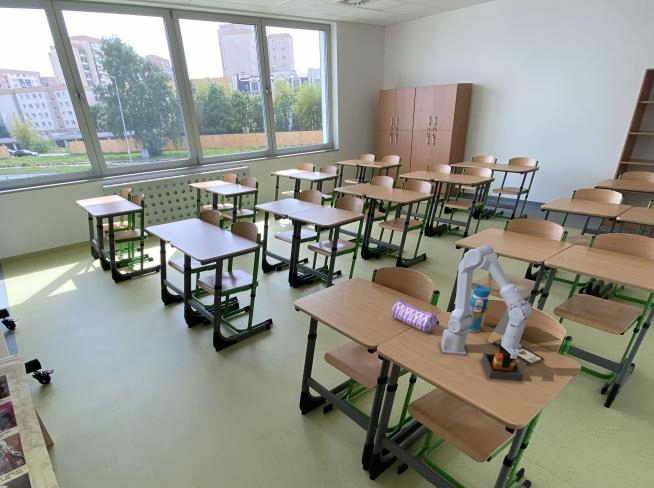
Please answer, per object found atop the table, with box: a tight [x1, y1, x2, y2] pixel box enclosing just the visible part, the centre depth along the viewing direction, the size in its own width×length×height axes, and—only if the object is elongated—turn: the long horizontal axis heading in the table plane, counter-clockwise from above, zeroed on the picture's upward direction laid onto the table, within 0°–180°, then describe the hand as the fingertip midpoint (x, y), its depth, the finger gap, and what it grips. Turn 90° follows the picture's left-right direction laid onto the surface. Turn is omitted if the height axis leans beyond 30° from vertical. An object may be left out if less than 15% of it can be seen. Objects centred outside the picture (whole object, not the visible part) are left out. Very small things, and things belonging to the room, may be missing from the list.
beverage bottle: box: [468, 285, 491, 333], centre depth 179 cm, size 8×8×20 cm
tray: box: [481, 352, 524, 382], centre depth 154 cm, size 12×14×4 cm
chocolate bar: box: [492, 342, 544, 365], centre depth 167 cm, size 9×1×18 cm
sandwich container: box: [486, 305, 511, 345], centre depth 172 cm, size 9×15×15 cm, turn 131°
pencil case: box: [391, 297, 440, 334], centre depth 184 cm, size 22×9×10 cm, turn 42°
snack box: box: [492, 352, 518, 371], centre depth 153 cm, size 7×3×5 cm, turn 82°
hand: (503, 364), depth 153 cm, fingers closed on snack box, 3 cm apart
